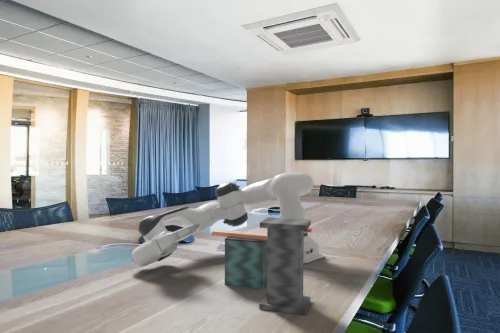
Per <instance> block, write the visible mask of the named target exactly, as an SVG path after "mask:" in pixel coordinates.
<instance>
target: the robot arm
mask: <svg viewBox="0 0 500 333" xmlns="http://www.w3.org/2000/svg"><path fill="white" fill-rule="evenodd" d="M240 187H241V186H240V185H238V184H235V183H233V182H232V181H231V182H223V183H221V184H220V185H219V186H218V187H216V188H215V191H214V192H215V197H216V198H217V201H218V202H217V201H210V202H207V203H204V204H202V205H200V206H198V207H196V208H192V207H189V206H181V207H178V208H174V209H171V210H168V211H165V212H162V213H157V214H152V215H149V216H147V217H144V218H143V219H141V220H140V222H139V224H138V229H137V230H138V232H139V233H140V235H141V237H143V239H144V242H142V243H141V244H140V245H139V246H137V247H135V249H133V250H132V252H131V258H132V261H133V262H134V264H135V265H136V266H137V267H139V268H143V267H146V266H149V265H152V264H153V263H155V262H160V261H163V260H165V259H166V258H168V257H170V256H171V255H172V254H174V252H176V250H177V248H178V246H179V242H181V241H183V240H185V239H187V238H188V237H190V236H192V235H194V234H196V233H202V232H204V231H206V230H208V229H209V228H211V227H212V226H214V225H215V224H216V223H217V222H220V221H221V220H223V221H222V223H223V224H224V225H228V226H230V227H239V226H243V224H245V223H246V222H247V220H248V219H249V217H248V212H247V211H246V206H260V205H266V204H270V203H274V202H278V206H279V211H280V213H279V214H280V215H279V216H280V217H279V218H289V219H306V210H305V208H304V207H303V205H302V202H301V198H300V197H302V196H305V195H307V194H308V193H310V192H311V191H312V189H313V188H314V180H313V178H312V176H311V175H310V174H308V173H306V172H302V171H298V172H294V171H293V172H283V173H280V174H278V175H276V176H274V177H271V178H268V179H267V178H266V179H264V180H261V181H256V182H253V183H251V184H248V185H247V186H245V187H242V188H241V189H240ZM172 220H177V221H179V222H180V223H182V224H183V225H185V227H183V228H180V229H178V230H175V231H169V230H168V229H167V228H166V226H165V223H166V222H169V221H172ZM312 231H313V229H312V228H311V227H309V228H308V230H307V231H305V230H304V264H309V263H311V262H314V261H317V260H319V259H323V258H325V254H324V253H322V252H320V250H319V249H320V247H319V243H318V242H317V241H315V240H314V239H313V238H312V237H311V236H310V235H309V233H312Z"/></svg>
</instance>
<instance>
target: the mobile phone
mask: <svg viewBox="0 0 500 333" xmlns="http://www.w3.org/2000/svg"><path fill="white" fill-rule="evenodd" d="M215 251H217V252H225V242H220V243H219V244H218V246H217V247H216V249H215Z"/></svg>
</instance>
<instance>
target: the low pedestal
mask: <svg viewBox="0 0 500 333" xmlns="http://www.w3.org/2000/svg"><path fill="white" fill-rule="evenodd" d="M224 243H225V251H224V286H233V287H241V286H243V287H244V288H250V287H251V288H250V289H252V288H253V289H259V288H260V289H259V290H263V289H264V288H265V287H266V286H267V240H256V239H245V238H234V237H225V238H224Z"/></svg>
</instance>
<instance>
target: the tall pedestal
mask: <svg viewBox="0 0 500 333" xmlns="http://www.w3.org/2000/svg"><path fill="white" fill-rule="evenodd" d="M311 224H312V220H311V219H306V218H305V219H289V218H281V217H270V216H269V217H265V219H263V220H262V221H260V222H259V228H260V229H266V230H267V231H266V232H267V233H266V234H267V283H266V293H265V294H264V296H263V298H262V299H261V300H260V302H259V306H258V308H259V310H265V311H272V312H280V313H287V314H296V315H303V316H304V315H305V316H307V315H308V314H307V313H308V310H309V307H310V304H311V296H306V295H304V265H305V263H304V230H305V231H307V230H308V228H310V226H311Z"/></svg>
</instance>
